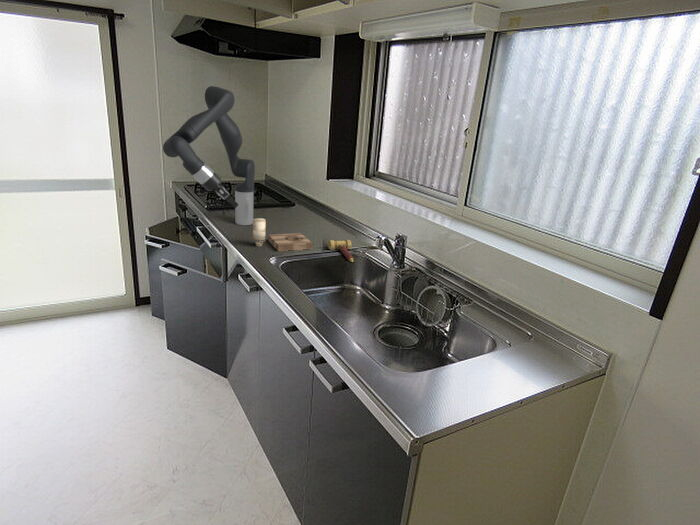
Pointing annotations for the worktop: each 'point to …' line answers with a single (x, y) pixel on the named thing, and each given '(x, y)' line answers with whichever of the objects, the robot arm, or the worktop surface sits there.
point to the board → (289, 242)
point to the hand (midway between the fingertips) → (234, 204)
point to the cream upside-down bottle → (259, 231)
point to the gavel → (341, 247)
